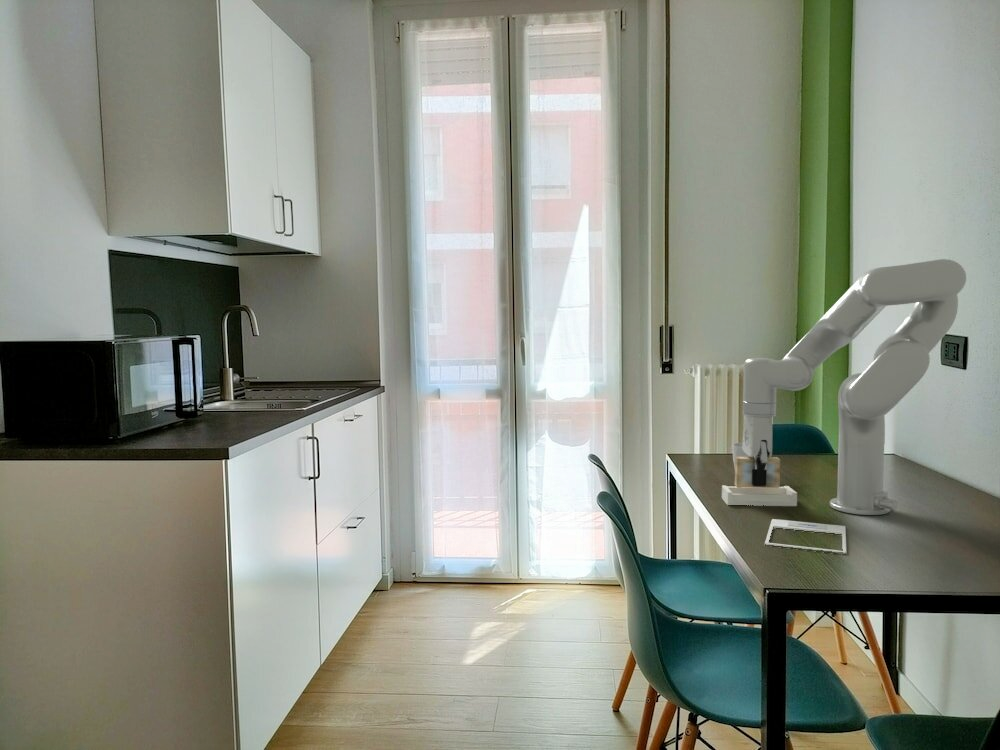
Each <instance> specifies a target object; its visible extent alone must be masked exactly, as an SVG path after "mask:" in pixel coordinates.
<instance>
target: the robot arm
mask: <svg viewBox="0 0 1000 750" xmlns="http://www.w3.org/2000/svg"><path fill="white" fill-rule="evenodd" d="M966 282H967V273H966V271H965V269H964V267H963V266H962V265H961V264H960V263H959V262H957V261H955V260H952V259H946V258H941V259H934V260H928V261H922V262H921V261H920V262H914V263H907V264H901V265H900V264H899V265H891V266H890V265H889V266H880V267H877V268H872V269H869V270H868V271H866V272H864V273H863V274H862V275H861V276H859V278H857V279H856V281H855V282H853V284H852V285H851V286H850V287H848V289H847V290H846V291H845V292H844V294H842V296H841V297H840V298H839V299H838V300H837V301H836V302H835V303H834V304H833V305H831V307H830V308H829V309H828V310H827V311H826V312H825V313H824V314H823V316H821V318H819V320H818V321H817V322H816V323H815V324H814V325H813V326H812V328H810V330H809V331H807V333H806V334H805V335H804V336H803V337H802V338H801V339H800V340H799V341H798V342H797V343H796V344H795V345H794V347H792V348H791V350H789V352H788V353H786V355H785V356H784V357H783V358H782V359H779V360H778V359H777V360H775V359H774V358H769V357H768V358H767V357H751V358H750V357H749V358H746V360H745V361H744V363H743V386H742V387H743V391H742V392H743V394H742V415H743V416H744V421H743V433H742V443H743V445H742V449H743V451H744V452H745V453H746V454H747V455H749V457H751V458H753V457H754V469H752V485H753V486H766V472H767V462H768V460H767V458H769V457H772V455H773V418H774V417H776V416H777V415H776V414H777V391H778V390H777V389H781V390H788V391H801V390H804V389H806V388H807V387H809V386H810V384H811V383H812V381H813V378H814V372H816V370H817V369H818V368H819V367H820V366H821V365H822V364H823V363H824V362H825V361H826V360H827V359H828V358H829V357H830V356H831V355H833V354H834V353H836V351H838V350H839V349H841V348H844V347H846V346H847V345H848V344H850V343H852V342H853V341H854V340H855V339H856V338H857V336H859V335H860V333H861V332H863V331H864V329H865V328H867V326H869V324H870V323H871V322H872V321H873V320H874V319H875V318H876V317H877V316H878V315H879V314H880V313H881V312H882V311H883V310H884V309H885V308H886V307H888V306H899V305H909V304H914V305H913V307H912V309H911V311H910V312H909V314H908V315H907V316H906V317H905V318H904V319H903V321H902V322H901V323H900V324H899V325H898V326H897V327H896V328H895V329H894V330H893V331H892V333H891V334H889V336H888V337H887V338H886V339H885V340H883V342H882V343H881V344H879V345H878V346H877V348H876V350H875V351H874V354H873V361H872V362H871V363H870V365H868V366H867V367H866V369H865V370H864V371H862V372H859V373H854V374H851V375H850V376H848V377H846V378H845V379H843V381H842V383H841V384H840V386H839V389H838V393H837V394H838V396H837V406H838V409H837V410H838V445H837V446H838V447H837V448H838V451H837V488H836V489H837V491H836V492H837V493H836V495H837V496H836V497H834V498H831V499H830V500H829V506H830V507H831V508H832V509H833V510H836V511H839V512H843V513H847V514H854V515H862V516H880V515H886V514H889V513H890V512H891V510H893V511H896V510H897V509H898V506H899V500H898V499H893V498H889V494H888V493H889V492H888V491H885V490H884V474H885V473H884V471H885V469H884V467H885V444H886V441H885V440H886V432H885V431H886V426H885V425H886V420H885V416H886V415H887V414H888V413H890V411H892V410H893V408H894V407H895V406H897V405H898V404H899V403H900V402H901V401H902V399H904V397H905V396H907V394H908V393H909V392H910V391H911V390H912V389H913V388H914V387H915V386H916V385H917V384H918V382H920V380H922V379H923V377H924V375H925V374H926V372H927V371H928V369H929V367H930V362H931V361H930V360H931V357H930V353H931V352H932V351H933V349H934V348H935V347H937V345H938V344H939V343H940V342H941V340H942V339H943V338H944V337H945V335H946V334H947V333H948V332H949V331H950V329H951V328H952V326H953V325H954V322H955V320H956V317H957V315H958V308H959V297H958V296H959V295H958V294H959V293H961V291H962V290H963V289H964V287H965V285H966ZM757 460H758V461H757Z"/></svg>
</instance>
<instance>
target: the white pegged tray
mask: <svg viewBox="0 0 1000 750" xmlns="http://www.w3.org/2000/svg"><path fill="white" fill-rule="evenodd" d="M721 499H722V500H723V501H724V503H725V504H726V505H727V506H728V505H747V506H748V505H749V507H753V506H754V507H797V506H798V492H797V491H795V490H794V489H793V488H791V487H790V486H789V485H784V486H779V488H760V487H736V486H735V485H734V486H728V485H723V484H722V485H721ZM750 505H751V506H750ZM752 505H753V506H752ZM763 505H764V506H763ZM747 506H746V507H747Z"/></svg>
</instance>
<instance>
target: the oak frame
mask: <svg viewBox="0 0 1000 750" xmlns="http://www.w3.org/2000/svg"><path fill="white" fill-rule="evenodd" d="M767 460H768V462H767V472H766V486H753V485H752V469H754V457H753V458H751V457H735V468H734V486H736V487H760V488H779V487H780V484H781V482H780V480H781V479H780V477H781V476H780V475H781V458H779V457H778V456H775V457H774V456H771V457H769V458H767ZM757 461H758V460H757Z"/></svg>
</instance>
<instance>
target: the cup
mask: <svg viewBox="0 0 1000 750" xmlns="http://www.w3.org/2000/svg"><path fill="white" fill-rule="evenodd" d="M742 445H743V442H734V443H732V460H733V467H734V469H735V457H749V455H747V454H746V453H745V452H744V451H743V449H742Z"/></svg>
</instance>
